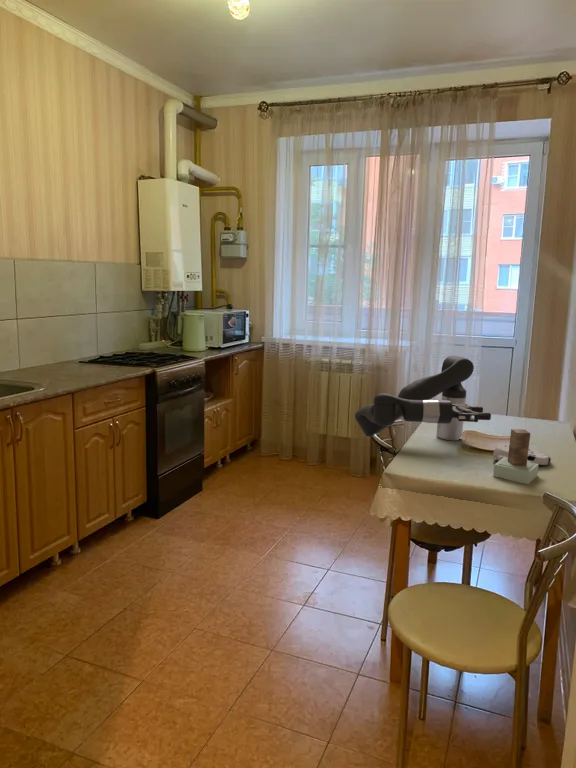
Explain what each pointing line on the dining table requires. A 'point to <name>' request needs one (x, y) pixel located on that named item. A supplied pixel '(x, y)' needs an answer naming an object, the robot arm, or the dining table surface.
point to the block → (518, 447)
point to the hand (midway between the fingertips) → (486, 413)
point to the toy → (532, 457)
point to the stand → (515, 471)
